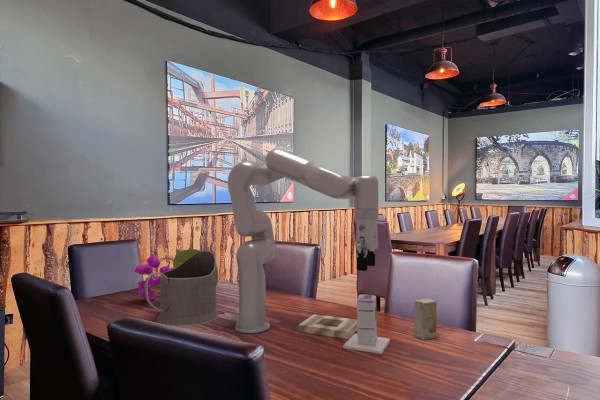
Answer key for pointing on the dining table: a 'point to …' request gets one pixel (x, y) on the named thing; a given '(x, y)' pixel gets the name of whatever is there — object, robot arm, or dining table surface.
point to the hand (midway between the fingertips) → (366, 268)
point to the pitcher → (188, 292)
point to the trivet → (377, 348)
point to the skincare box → (425, 319)
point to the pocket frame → (318, 327)
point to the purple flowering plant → (161, 270)
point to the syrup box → (366, 320)
